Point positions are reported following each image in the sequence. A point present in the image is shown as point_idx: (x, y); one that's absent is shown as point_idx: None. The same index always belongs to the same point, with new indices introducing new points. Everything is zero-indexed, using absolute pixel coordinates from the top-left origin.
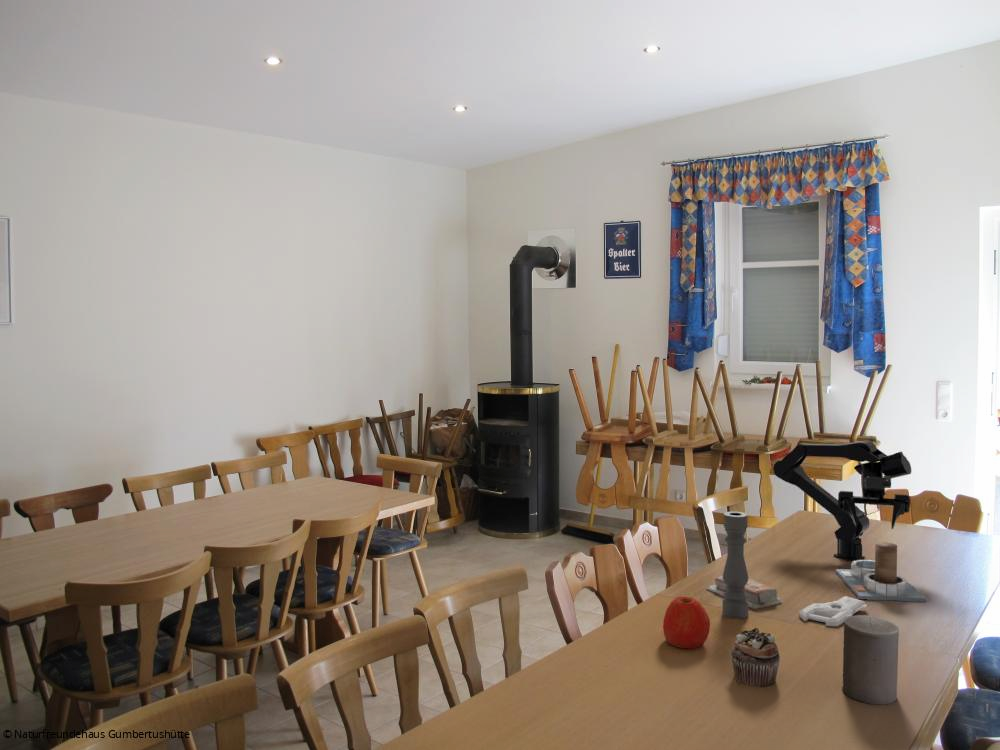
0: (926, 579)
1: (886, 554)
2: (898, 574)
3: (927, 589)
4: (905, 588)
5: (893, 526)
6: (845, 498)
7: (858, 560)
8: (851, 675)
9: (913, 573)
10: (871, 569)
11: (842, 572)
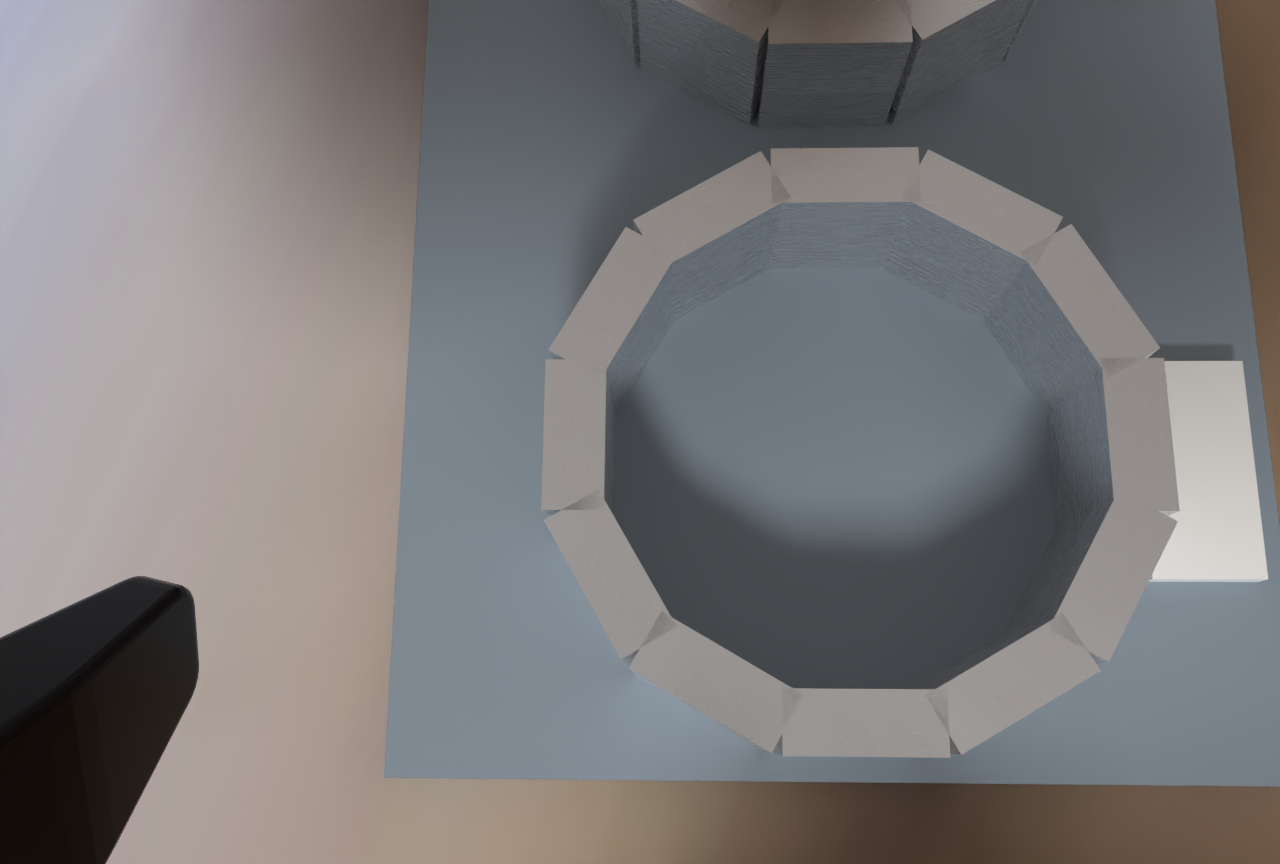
0: (57, 556)
1: None
2: (409, 574)
3: (242, 142)
4: None
5: (123, 584)
6: None
7: (1012, 709)
8: None
9: None
10: (917, 198)
11: (1253, 525)
